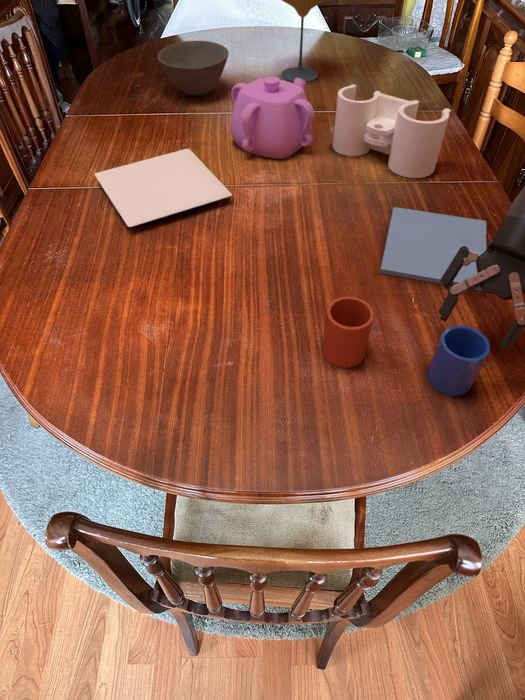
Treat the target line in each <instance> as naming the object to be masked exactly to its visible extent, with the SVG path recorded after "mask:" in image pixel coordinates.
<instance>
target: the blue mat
mask: <svg viewBox="0 0 525 700" xmlns="http://www.w3.org/2000/svg"><path fill="white" fill-rule="evenodd" d="M462 246H466V247H467V248H468V250H470V251H472V252H474V253H476V254H478V255H481V254H482V253H484V252H485V251H486V249H487V220H484V219H483V220H482V219H477V218H469V217H463V216H457V215H450V214H443V213H437V212H431V211H424V210H416V209H410V208H405V207H404V208H403V207H398V206H397V207H396V206H393V208H392V211H391V217H390V221H389V227H388V231H387V236H386V240H385V246H384V251H383V256H382V261H381V265H380V270H379V274H383V275H389V276H393V277H400V278H404V279H405V278H406V279H412V280H417V281H422V282H427V283H434V284H440V285H442V284H441V282H440V280H441V278H442V276H443V275H444V273H445V271H446V270H447V268H448V267H449V265H450V263H451V262H452V260H453V259H454V257H455V255H456V254H457V252H458V251H459V249H460V248H461V247H462ZM475 274H477V267H476V262H471V263H470V264H469V265H468V266H464V265H463V266H462V268H461V269H460V271H459V273H458V274H457V276H456V277H455V279H454V280H453V283H454V284H455V285H456V284H458V283H460V282H462V281H464V280H465V279H467V278H469V277H471V276H473V275H475ZM472 291H478V292H479V291H480V292H484V291H483V289H482V288H481V287H478V288H475V289H473V290H472Z"/></svg>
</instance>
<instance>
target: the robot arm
mask: <svg viewBox="0 0 525 700" xmlns="http://www.w3.org/2000/svg"><path fill="white" fill-rule="evenodd" d="M471 262H476V267H477V274H475V275H473V276H471V277H469V278H467V279H465V280H464V281H462V282H460V283H458V284H456V285H455V284H454V283H453V280H454V279H455V277H456V276H457V274H458V273H459V271H460V269H461V268H462V266H463V265H464V266H468V265H469V264H470V263H471ZM440 282H441V284H440V285H442V286H443V287H444V288H445V289H446V290H447V295H446V297H445V299H444V300H443V302H442V304H441V306H440V308H439V309H438V314H439V315H440V317H439V320H441V321H442V322H444V323H446V322H447V321H448V319H449V318H450V316H451V314H452V312H453V310H454V309H455V307H456V305H457V303H458V301H459V296H461V295H463V294H466V293H468V292H470V291H474V290H473V289H475V288H478V287H481V288H482V289H483V291H482V292H485V293H487V294H491V295H495V296H496V297H498V298H499V299H501V300H503V301H511V300H512V306H513V310H514V316H515V321H514V322H512V323H511V325H510V326H509V328H508V329H507V332H506V333H505V335H504V336H503V339H502V340H501V342H500V343H499V345H498V348H499V349H501V350H502V351H503V350H505V349H506V347H507V348H512V347H513V346H514V344H515V342H516V341H517V339H518V337H519V336H520V334H521V332H522V330H523V329H524V328H525V301H524V294H525V184H524V185H523V187H522V188H521V190H520V191H519V192H518V194H517V195H516V196H515V198H514V199H513V201H512V203H511V205H510V206H509V208H508V209H507V212H506V213H505V215H504V217H503V219H502V221H501V223H500V224H499V226H498V228H497V230H496V232H495V233H494V235H493V237H492V239H491V240H490V242H489V244H488V246H487V247H486V251H485V252H484V253H482V254H481V255H478V254H476V253H474V252H472V251H470V250H468V248H467V247H466V246H462V247H461V248H460V249H459V251H458V252H457V254H456V255H455V257H454V259H453V260H452V262H451V263H450V265H449V267H448V268H447V270H446V271H445V273H444V275H443V276H442V278H441V280H440Z"/></svg>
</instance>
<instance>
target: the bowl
mask: <svg viewBox="0 0 525 700" xmlns="http://www.w3.org/2000/svg"><path fill="white" fill-rule="evenodd" d="M229 53H230V52H229V50H228V48H227V47H225V46H224V45H223V44H220V43H217V42H214V41H209V40H185V41H180V42H176V43H172V44H169V45H167V46H165V47H164V48H161V50H160V51H159V52H158V53H157V60H158V62H159V64H160V67H162V69H163V70H164V73H165V74H166V76H167V78H168V79H169V81H171V83H172V85H174V86H175V87H176V88H177V89H178V90H179V91H181V93H184V94H185V95H188V96H192V97H202V96H204V95H207V94H209V93H210V92H211V91H213V89H214V88H215V87H216V86H217V84H218V83H219V82H220V79H221V77H222V75H223V72H224V69H225V66H226V64H227V61H228V58H229Z"/></svg>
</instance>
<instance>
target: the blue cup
mask: <svg viewBox="0 0 525 700" xmlns="http://www.w3.org/2000/svg"><path fill="white" fill-rule="evenodd" d="M439 337H440V338H439V340H438V343H437V345H436V348H435V351H434V353H433V356H432V359H431V360H430V363H429V366H428V370H427V372H426V373H427V374H426V375H427V376H426V377H427V380H428V383H429V384H430V385H431V387H432V388H433V389H434V390H436V392H439V393H441V394H442V395H446V396H450V397H459V396H462V395H465V394H467V393H468V392H469V391H470V390H471V388H472V387H473V385H474V383H475V381H476V379H477V377H478V375H479V373H480V371H481V370H482V367H483V365H484V363H485V361H486V360H487V358H488V356H489V354H490V351H491V344H490V342H489V340H488V337H487V336H486V335H484V334H483V333H482V332H481V331H479V330H477V329H475V328H473V327H471V326H466V325H452V326H450V327H448V328H445V329H444V331H443V332H442V333H441V335H440V336H439Z"/></svg>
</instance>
